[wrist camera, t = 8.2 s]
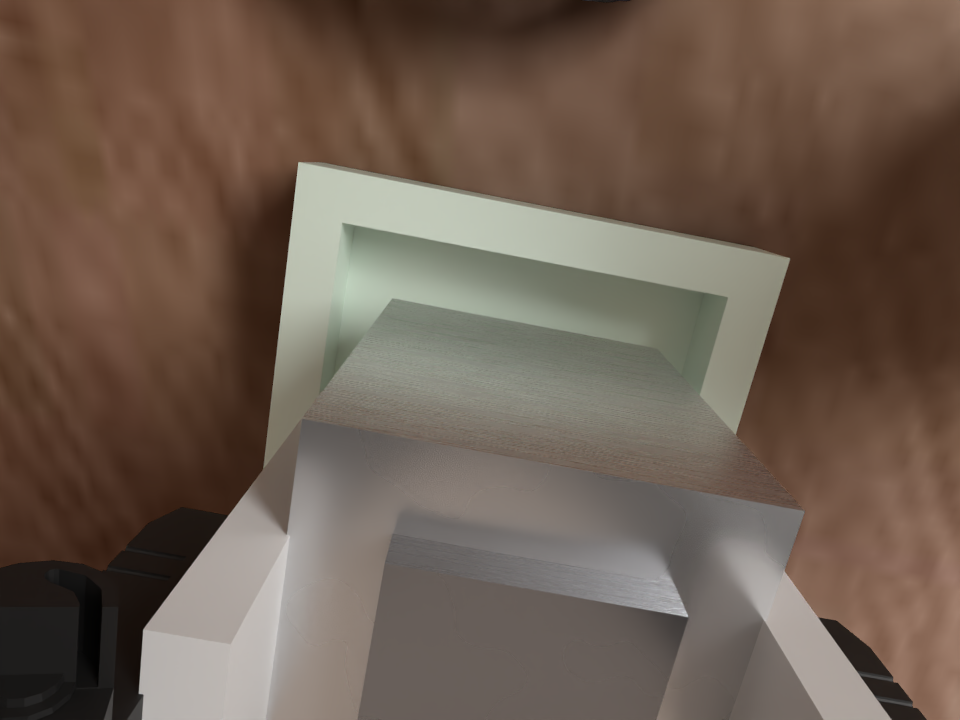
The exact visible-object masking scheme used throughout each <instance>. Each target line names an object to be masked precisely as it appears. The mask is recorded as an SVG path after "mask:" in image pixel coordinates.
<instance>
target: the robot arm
mask: <svg viewBox="0 0 960 720" xmlns="http://www.w3.org/2000/svg"><path fill="white" fill-rule="evenodd" d="M321 393H322V392H321ZM321 393H320V394H321ZM320 394H319V395H320ZM318 397H319V396H318ZM318 397H317V398H318ZM317 398H316V399H317ZM315 401H316V400H315ZM315 401H314V402H315ZM314 402H313V403H314ZM312 405H313V404H312ZM312 405H311V406H312ZM311 406H310V407H311ZM309 409H310V408H309ZM309 409H308V410H309ZM308 410H307V411H308ZM306 413H307V412H306ZM306 413H305V414H306ZM305 414H304V415H305ZM303 417H304V416H303ZM303 417H302V418H303ZM302 418H301V420H300V421H299V422H298V424H297V425H296V426H295V428H294V429H293V430H292V432H291V433H290V434H289V436H288V437H287V438H286V440H285V441H284V442H283V444H282V445H281V446H280V448H279V449H278V450H277V452H276V453H275V454H274V456H273V457H272V458H271V460H270V461H269V462H268V464H267V465H266V466H265V468H264V469H263V470H262V472H261V473H260V474H259V476H258V477H257V478H256V480H255V481H254V482H253V484H252V485H251V486H250V488H249V489H248V490H247V492H246V493H245V494H244V496H243V497H242V498H241V500H240V501H239V502H238V504H237V505H236V506H235V508H234V509H233V510H232V512H231V513H230V514H229V516H228V515H223V514H217V513H211V512H206V511H200V510H194V509H189V508H183V507H181V508H179V509H177V510H175V511H173V512H171V513H169V514H167V515H165V516H163V517H160V518H158V519H156V520H154V521H152V522H150V523H148V524H147V525H146V526H145V527H144V528H143V529H142V530H141V532H140V533H139V534H138V535H137V536H136V537H135V538H134V539H133V540H132V541H131V542H130V543H129V544H128V545H127V547H126V550H125V551H121V552H120V553H119V554H118V556H117V557H116V558H115V559H114V560H113V561H112V562H111V563H110V564H109V565H108V568H107V570H106V571H104V570H103V571H102V572H101V571H98V570H96V569H94V568H91V567H89V566H87V565H84V564H78V563H70V562H62V561H54V560H52V561H40V562H27V563H18V564H14V565H10V566H6V567H3V568H0V720H266V714H267V706H268V698H269V691H270V683H271V675H272V668H273V660H274V652H275V645H276V637H277V630H278V622H279V614H280V607H281V599H282V591H283V584H284V576H285V568H286V561H287V553H288V545H289V538H290V536H288V535H287V530H288V523H289V515H290V507H291V500H292V492H293V484H294V477H295V469H296V461H297V454H298V446H299V438H300V431H301V423H302ZM912 703H913V702H912V701H911V699H910V698H909V697H908V695H907V694H906V693H905V692H904V690H903V689H902V688H901V686H900V685H899V684H898V683H894V682H893V676H892V675H891V674H890V672H889V671H888V670H887V669H886V667H885V666H884V665H883V664H882V662H881V661H880V660H879V658H878V657H877V656H876V655H875V653H874V652H873V651H872V649H871V648H870V647H869V646H867V645H866V644H865V643H864V642H862V641H861V640H860V639H859V638H857V637H856V636H855V635H854V634H852V633H851V632H850V631H849V630H847V629H846V628H845V627H844V626H843V625H841V624H840V623H839V622H838V621H835V620H830V619H824V618H818V617H817V616H816V614H815V613H814V611H813V610H812V609H811V607H810V606H809V605H808V603H807V602H806V600H805V599H804V598H803V596H802V595H801V593H800V592H799V591H798V589H797V588H796V587H795V585H794V584H793V582H792V581H791V580H790V578H789V577H788V575H787V574H786V573H785V571H784V573H783V576H782V578H781V581H780V584H779V587H778V590H777V593H776V596H775V598H774V601H773V604H772V607H771V610H770V613H769V616H768V618H767V620H763V623H762V626H761V629H760V632H759V635H758V638H757V640H756V643H755V646H754V649H753V652H752V655H751V658H750V661H749V663H748V666H747V669H746V672H745V675H744V678H743V681H742V684H741V686H740V689H739V692H738V695H737V698H736V701H735V704H734V707H733V710H732V712H731V715H730V718H729V720H926V718H925V717H924V716H923V715H922V713H921V712H920V711H919V709H917V708H913V706H912Z"/></svg>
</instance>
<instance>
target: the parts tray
mask: <svg viewBox="0 0 960 720" xmlns="http://www.w3.org/2000/svg"><path fill="white" fill-rule="evenodd" d="M789 261H790V258H788V257H784V256H781V255H778V254H775V253H772V252H768V251H765V250H762V249H759V248H756V247H751V246H746V245H741V244H736V243H731V242H726V241H721V240H715V239H710V238H705V237H700V236H695V235H690V234H685V233H680V232H675V231H670V230H664V229H659V228H654V227H649V226H644V225H639V224H634V223H629V222H624V221H619V220H613V219H608V218H603V217H598V216H593V215H588V214H583V213H578V212H573V211H568V210H562V209H557V208H552V207H547V206H542V205H537V204H532V203H527V202H522V201H517V200H511V199H506V198H501V197H496V196H491V195H486V194H481V193H476V192H471V191H466V190H460V189H455V188H450V187H445V186H440V185H435V184H430V183H425V182H420V181H415V180H409V179H404V178H399V177H394V176H389V175H384V174H379V173H374V172H369V171H364V170H358V169H353V168H348V167H343V166H338V165H333V164H328V163H323V162H299V163H298V171H297V180H296V189H295V197H294V206H293V215H292V223H291V232H290V241H289V250H288V258H287V267H286V276H285V284H284V293H283V302H282V310H281V319H280V328H279V336H278V345H277V354H276V362H275V371H274V380H273V388H272V397H271V406H270V414H269V423H268V432H267V440H266V449H265V458H264V466H263V469H264V468H265V466H266V465H267V464H268V462H269V461H270V460H271V458H272V457H273V456H274V454H275V453H276V452H277V450H278V449H279V448H280V446H281V445H282V444H283V442H284V441H285V440H286V438H287V437H288V436H289V434H290V433H291V432H292V430H293V429H294V428H295V426H296V425H297V424H298V422H299V421H300V420H301V418H302V417H303V416H304V414H305V413H306V412H307V410H308V409H309V408H310V406H311V405H312V404H313V402H314V401H315V400H316V398H317V397H318V396H319V394H320V393H321V392H322V391H323V390H324V389H325V387H326V386H327V385H328V383H329V382H330V381H331V379H332V378H333V377H334V375H335V374H336V373H337V371H338V370H339V369H340V367H341V366H342V365H343V363H344V362H345V361H346V359H347V358H348V357H349V355H350V354H351V353H352V351H353V350H354V349H355V347H356V346H357V345H358V343H359V342H360V341H361V339H362V338H363V337H364V335H365V334H366V333H367V331H368V330H369V329H370V327H371V326H372V325H373V323H374V322H375V321H376V319H377V318H378V317H379V315H380V314H381V313H382V311H383V310H384V309H385V307H386V306H387V305H388V303H389V302H390V301H391V299H392V298H394V299H399V300H405V301H410V302H415V303H420V304H426V305H431V306H436V307H441V308H447V309H452V310H457V311H462V312H468V313H473V314H478V315H483V316H489V317H494V318H499V319H504V320H509V321H515V322H520V323H525V324H530V325H536V326H541V327H546V328H551V329H557V330H562V331H567V332H572V333H578V334H583V335H588V336H593V337H599V338H604V339H609V340H614V341H620V342H625V343H630V344H635V345H641V346H646V347H651V348H656V349H658V350H659V351H660V352H661V353H662V354H663V355H664V357H665V358H666V359H667V360H668V361H669V362H670V363H671V364H672V365H673V366H674V368H675V369H676V370H677V371H678V372H679V373H680V374H681V375H682V376H683V377H684V379H685V380H686V381H687V382H688V383H689V384H690V385H691V386H692V387H693V388H694V390H695V391H696V392H697V393H698V394H699V395H700V396H701V397H702V398H703V399H704V401H705V402H706V403H707V404H708V405H709V406H710V407H711V408H712V409H713V410H714V412H715V413H716V414H717V415H718V416H719V417H720V418H721V419H722V420H723V421H724V423H725V424H726V425H727V426H728V427H729V428H730V429H731V430H732V431H733V432H734V434H735V435H736V432H737V429H738V425H739V422H740V419H741V416H742V413H743V409H744V406H745V403H746V400H747V396H748V393H749V390H750V387H751V384H752V380H753V377H754V374H755V371H756V367H757V364H758V361H759V358H760V355H761V351H762V348H763V345H764V342H765V338H766V335H767V332H768V329H769V326H770V322H771V319H772V316H773V313H774V309H775V306H776V303H777V300H778V297H779V293H780V290H781V287H782V284H783V280H784V277H785V274H786V271H787V267H788V264H789Z"/></svg>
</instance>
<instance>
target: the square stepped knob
mask: <svg viewBox="0 0 960 720" xmlns="http://www.w3.org/2000/svg"><path fill="white" fill-rule="evenodd" d="M804 513H805V511H804V509H803V508H802V507H801V506H800V505H799V504H798V503H797V502H796V501H795V500H794V498H793V497H792V496H791V495H790V494H789V493H788V492H787V491H786V490H785V489H784V487H783V486H782V485H781V484H780V483H779V482H778V481H777V480H776V479H775V478H774V476H773V475H772V474H771V473H770V472H769V471H768V470H767V469H766V468H765V467H764V465H763V464H762V463H761V462H760V461H759V460H758V459H757V458H756V457H755V456H754V454H753V453H752V452H751V451H750V450H749V449H748V448H747V447H746V446H745V445H744V443H743V442H742V441H741V440H740V439H739V438H738V437H737V436H736V435H735V434H734V432H733V431H732V430H731V429H730V428H729V427H728V426H727V425H726V424H725V423H724V421H723V420H722V419H721V418H720V417H719V416H718V415H717V414H716V413H715V412H714V410H713V409H712V408H711V407H710V406H709V405H708V404H707V403H706V402H705V401H704V399H703V398H702V397H701V396H700V395H699V394H698V393H697V392H696V391H695V390H694V388H693V387H692V386H691V385H690V384H689V383H688V382H687V381H686V380H685V379H684V377H683V376H682V375H681V374H680V373H679V372H678V371H677V370H676V369H675V368H674V366H673V365H672V364H671V363H670V362H669V361H668V360H667V359H666V358H665V357H664V355H663V354H662V353H661V352H660V351H659V350H658V349H656V348H651V347H646V346H641V345H635V344H630V343H625V342H620V341H614V340H609V339H604V338H599V337H593V336H588V335H583V334H578V333H572V332H567V331H562V330H557V329H551V328H546V327H541V326H536V325H530V324H525V323H520V322H515V321H509V320H504V319H499V318H494V317H489V316H483V315H478V314H473V313H468V312H462V311H457V310H452V309H447V308H441V307H436V306H431V305H426V304H420V303H415V302H410V301H405V300H399V299H394V298H392V299H391V301H390V302H389V303H388V305H387V306H386V307H385V309H384V310H383V311H382V313H381V314H380V315H379V317H378V318H377V319H376V321H375V322H374V323H373V325H372V326H371V327H370V329H369V330H368V331H367V333H366V334H365V335H364V337H363V338H362V339H361V341H360V342H359V343H358V345H357V346H356V347H355V349H354V350H353V351H352V353H351V354H350V355H349V357H348V358H347V359H346V361H345V362H344V363H343V365H342V366H341V367H340V369H339V370H338V371H337V373H336V374H335V375H334V377H333V378H332V379H331V381H330V382H329V383H328V385H327V386H326V387H325V389H324V390H323V391H322V393H321V394H320V395H319V397H318V398H317V399H316V401H315V402H314V403H313V405H312V406H311V407H310V409H309V410H308V411H307V413H306V414H305V415H304V417H303V418H302V423H301V431H300V438H299V446H298V454H297V461H296V469H295V477H294V484H293V492H292V500H291V507H290V515H289V523H288V530H287V535H288V536H290V538H289V545H288V553H287V561H286V568H285V576H284V584H283V591H282V599H281V607H280V614H279V622H278V630H277V637H276V645H275V652H274V660H273V668H272V675H271V683H270V691H269V698H268V706H267V714H266V720H729V718H730V715H731V712H732V710H733V707H734V704H735V701H736V698H737V695H738V692H739V689H740V686H741V684H742V681H743V678H744V675H745V672H746V669H747V666H748V663H749V661H750V658H751V655H752V652H753V649H754V646H755V643H756V640H757V638H758V635H759V632H760V629H761V626H762V623H763V620H767V618H768V616H769V613H770V610H771V607H772V604H773V601H774V598H775V596H776V593H777V590H778V587H779V584H780V581H781V578H782V576H783V573H784V570H785V567H786V564H787V561H788V558H789V556H790V553H791V550H792V547H793V544H794V541H795V538H796V536H797V533H798V530H799V527H800V524H801V521H802V518H803V516H804Z"/></svg>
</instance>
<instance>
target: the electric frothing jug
mask: <svg viewBox="0 0 960 720" xmlns="http://www.w3.org/2000/svg"><path fill="white" fill-rule="evenodd" d="M584 1H595V2H615V1H630V0H584Z"/></svg>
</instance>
